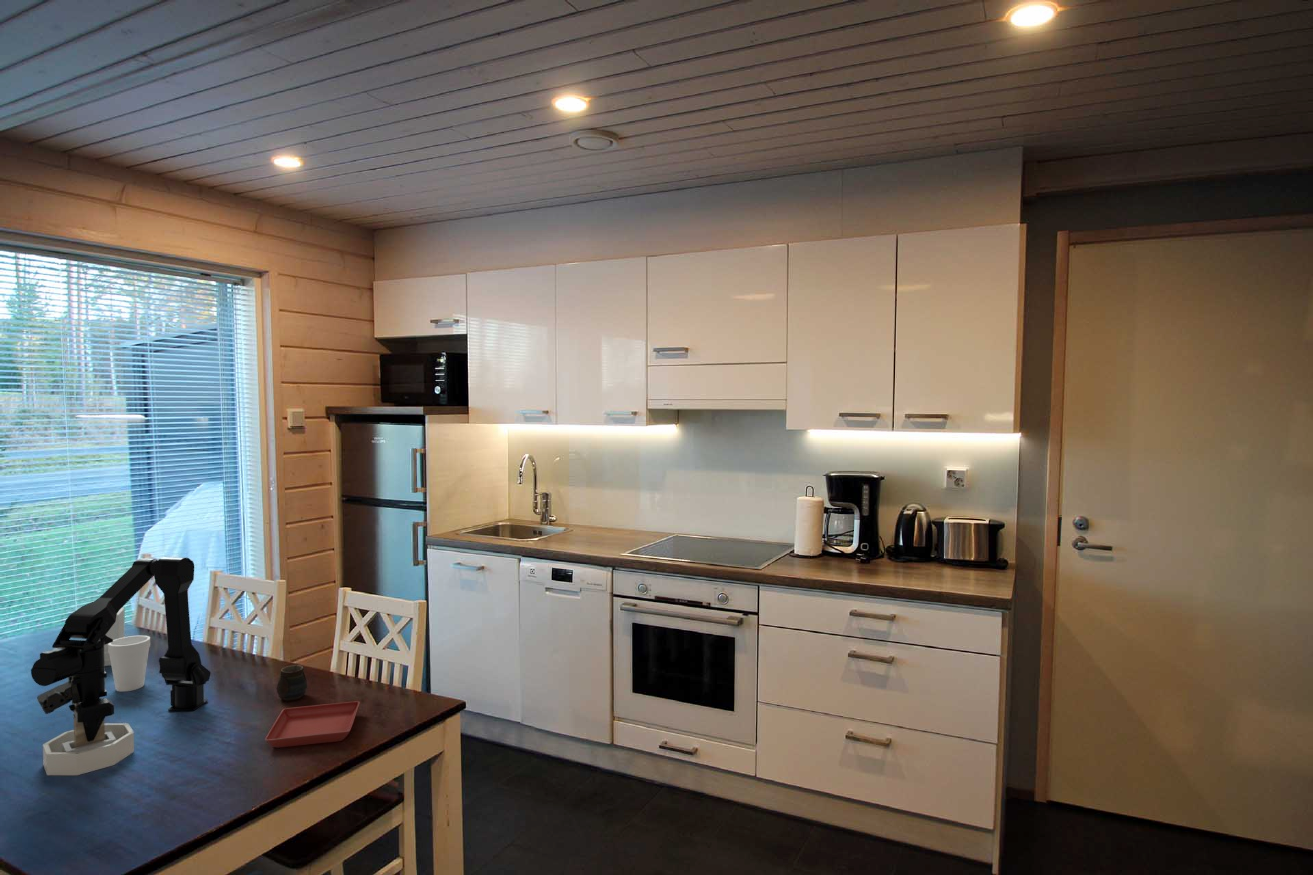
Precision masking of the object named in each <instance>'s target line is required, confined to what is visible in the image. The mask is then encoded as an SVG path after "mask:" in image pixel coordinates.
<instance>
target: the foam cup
mask: <svg viewBox="0 0 1313 875" xmlns="http://www.w3.org/2000/svg"><path fill="white" fill-rule="evenodd" d="M150 648H151V636H149V635H129V636H125V637H123V638H119V639H115V640H113V642H111V643H108V653H109V655H110V661H111V665H110V666H111V670H112V671H111V672H112V677H113V681H114V688H115V691H117V692H130V691H135V690H138V689H141V688H143V687H144V685H145V681H146V680H145V678H146V673H147V664H148V657H149V652H150V650H149V649H150Z"/></svg>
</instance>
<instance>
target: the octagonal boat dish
mask: <svg viewBox="0 0 1313 875" xmlns="http://www.w3.org/2000/svg"><path fill="white" fill-rule="evenodd" d="M104 726H105V740H104V741H100V742H96V743H92V744H88V745H84V746H80V747H76V748H74V729H72V730H68V731H65V732H63V733H61V734H59V735H57V736H56V737H54V738H52V739H50V740H49V741H47V742H45V743H43V744H42V760H43V761H42V763H43V764H42V765H43V768H44V770H45V774H46V776H79V775H83V774H86V773H89V772H94V771H97V770H100V769H102V770H103V769H104V768H108V767H112V766H114V765H116V764H118V763H119V762H121V761H122V760H124V759H125V758H126V757H128V756H130V755H132V754H133V753H135V735H134V734H135V732H134V730H133V729H132V727H131V726H130V724H129V723H126V722H124V723H123V722H122V723H117V722H115V723H110V722H106V723H105V722H104Z"/></svg>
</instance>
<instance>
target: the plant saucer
mask: <svg viewBox="0 0 1313 875" xmlns="http://www.w3.org/2000/svg"><path fill="white" fill-rule="evenodd" d="M360 703H361V701H358V700H357V701H356V700H354V701H345V702H336V703H328V704H327V703H326V704H316V705H306V706H295V707H287V708H283V709H281V712H280V713H279V715H278V716H277V718H276V720H275V721H274V723H273V725H272V726H271V728H270V730H269V732H268V733H267V735H266V737H264V741H265V742H266V743H267V744H269V745H270V746H272V747H274V748H278V749H279V748H285V747H286V748H287V747H295V746H297V747H298V746H304V745H305V746H306V745H313V744H314V745H315V744H322V743H323V744H325V743H333V742H334V743H335V742H336V743H337V742H341V741H344V739H346V737H347V736H348V735H349V734H350V732H351V729H352V726H353V724H354V722H355V718H356V715H357V712H358V710H359V707H360Z"/></svg>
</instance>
